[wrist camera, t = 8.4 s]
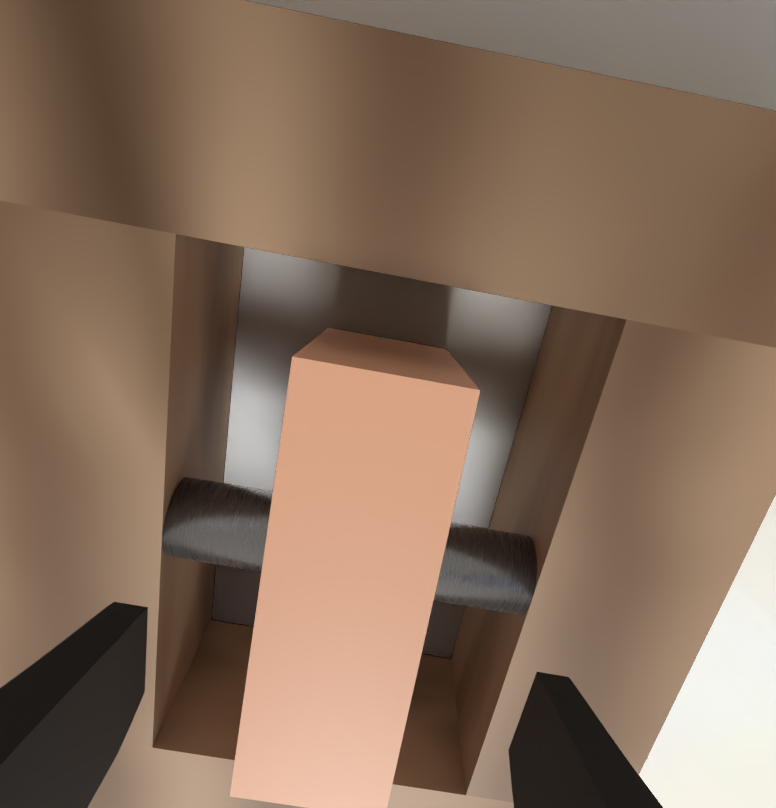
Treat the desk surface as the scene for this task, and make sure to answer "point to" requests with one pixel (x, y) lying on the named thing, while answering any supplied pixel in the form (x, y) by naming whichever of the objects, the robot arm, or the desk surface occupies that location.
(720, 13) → the desk surface
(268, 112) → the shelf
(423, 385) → the pink notched block
